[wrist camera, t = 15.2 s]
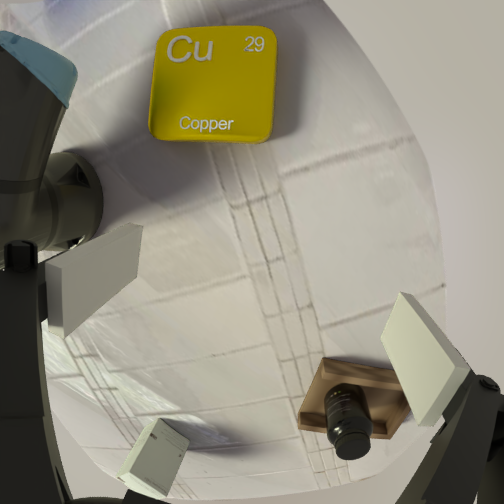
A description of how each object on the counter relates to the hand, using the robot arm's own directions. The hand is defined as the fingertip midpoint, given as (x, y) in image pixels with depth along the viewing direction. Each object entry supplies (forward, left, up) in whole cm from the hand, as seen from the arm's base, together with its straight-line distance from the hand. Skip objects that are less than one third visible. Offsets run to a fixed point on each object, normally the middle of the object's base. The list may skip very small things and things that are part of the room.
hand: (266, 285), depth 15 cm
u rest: (+21, -26, -27) cm, 43 cm away
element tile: (-11, +14, -27) cm, 33 cm away
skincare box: (-10, -47, -27) cm, 55 cm away
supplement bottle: (+18, -26, -26) cm, 41 cm away
